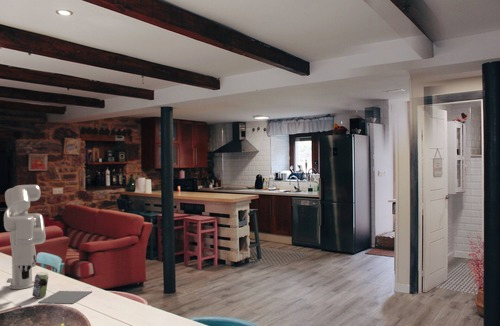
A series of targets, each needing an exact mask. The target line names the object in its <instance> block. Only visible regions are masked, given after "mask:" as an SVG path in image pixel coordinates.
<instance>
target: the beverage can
mask: <svg viewBox="0 0 500 326" xmlns="http://www.w3.org/2000/svg"><path fill="white" fill-rule="evenodd" d="M33 281H34V286H33V288H32V295H31V296H33V298H37V299H41V298H44V297H46V295H47V290H48V289H47V288H48V282H49V274H48V273H47V272H43V271H42V272H36V275H35V276H34V280H33Z"/></svg>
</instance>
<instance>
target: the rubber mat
mask: <svg viewBox="0 0 500 326" xmlns="http://www.w3.org/2000/svg"><path fill="white" fill-rule="evenodd" d="M92 293H93V291H90V290H89V291H86V290H83V291H81V290H58V291H56V292H55V293H53V294H51V295H49V296H47V297H45V298H43V299H42V300H40V301H37V304H52V303H54V304H60V305H61V304H62V305H63V304H65V305H66V304H67V305H74V304H75V303H77V302H79V301H80V300H82V299H84V298H85V297H87V296H88V295H90V294H92Z"/></svg>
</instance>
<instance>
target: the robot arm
mask: <svg viewBox="0 0 500 326" xmlns="http://www.w3.org/2000/svg"><path fill="white" fill-rule="evenodd" d="M41 191H42V190H41V188H40V186H39V185H38V184H21V185H20V184H19V185H15V186H14V187H12V188H11V187H10V188H8V189H7V190H6V191H5V192H4V198H5V204H6V206H7V208H6V209H5V212H4V214H3V227H4V229H5V231H6V232H10V233H9V242H10V248H11V272H12V273H11V275H12V277H11V278H7V279H6V282H5V283H7V284H9V283H10V285H8V287H9V289H11V290H23V289H28V288H29V289H30V288H32V287H34V281H35V280H33V268H34V267H36V266H37V264H36V263H37V251H36V250H37V249H36V245H42V244H44V243H45V242H46V237H47V235H46V228H45V220H44V217H43V215H42V214H41V213H38V212H35V213H29V212H28V211H29V209H30V207H31V202H36V201H38V200H40V198H41V193H42V192H41Z"/></svg>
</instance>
